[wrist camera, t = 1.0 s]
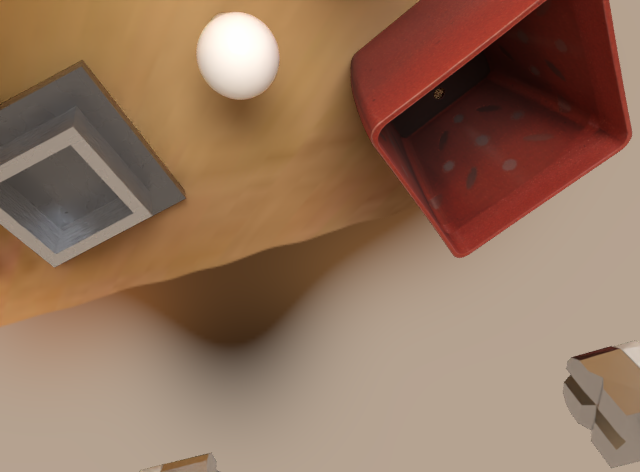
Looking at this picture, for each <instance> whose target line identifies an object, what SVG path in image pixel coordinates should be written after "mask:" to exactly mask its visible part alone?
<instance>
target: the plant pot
mask: <svg viewBox="0 0 640 472" xmlns="http://www.w3.org/2000/svg"><path fill="white" fill-rule="evenodd" d="M351 86H352V92H353V97H354V101H355V104H356V107H357V110H358V113H359V116H360V119H361V121H362V124H363V126H364V128H365V131H366V133H367V135H368V137H369V139H370V141H371V143H372V144H373V146H374V147H375V148H376V150H377V151H378V153H379V154H380V155H381V157H382V158H383V159H384V160H385V162H386V163H387V164H388V166H389V167H390V169H391V170H392V171H393V173H394V174H395V175H396V177H397V178H398V179H399V181H400V182H401V183H402V185H403V186H404V187H405V189H406V190H407V191H408V193H409V194H410V196H411V197H412V198H413V200H414V201H415V202H416V204H417V205H418V206H419V208H420V209H421V210H422V212H423V213H424V214H425V216H426V217H427V218H428V220H429V221H430V223H431V224H432V225H433V227H434V228H435V230H436V231H437V233H438V234H439V235H440V237H441V238H442V240H443V241H444V242H445V244H446V245H447V247H448V248H449V250H450V251H451V253H452V254H453V255H454V256H455V257H457V258H462V257H465V256H467V255H469V254H470V253H472V252H473V251H475V250H476V249H478V248H479V247H481V246H482V245H483V244H485V243H486V242H488V241H489V240H491V239H492V238H494V237H495V236H496V235H498V234H499V233H501V232H502V231H503V230H505V229H506V228H508V227H509V226H511V225H512V224H514V223H515V222H517V221H518V220H519V219H521V218H523V217H524V216H525V215H527V214H528V213H530V212H531V211H533V210H534V209H536V208H537V207H539V206H540V205H542V204H543V203H544V202H546V201H547V200H549V199H550V198H552V197H553V196H555V195H556V194H558V193H559V192H561V191H562V190H563V189H565V188H566V187H568V186H569V185H571V184H572V183H574V182H575V181H577V180H578V179H580V178H581V177H582V176H584V175H586V174H587V173H588V172H590V171H591V170H593V169H594V168H596V167H597V166H599V165H600V164H602V163H603V162H605V161H606V160H608V159H609V158H610V157H612V156H613V155H615V154H616V153H618V152H619V151H620V150H622V149H623V148H624V147H625V146H626V145H627V144H628V143H629V141H630V139H631V137H632V129H631V123H630V118H629V113H628V108H627V103H626V97H625V91H624V86H623V80H622V74H621V69H620V63H619V58H618V52H617V45H616V40H615V34H614V28H613V21H612V15H611V9H610V3H609V0H420V1H419V2H418V3H416V4H415V5H414V6H413V7H412V8H410V9H409V10H408V11H407V12H405V13H404V14H403V15H402V16H401V17H399V18H398V19H397V20H396V21H394V22H393V23H392V24H391V25H389V26H388V27H387V28H386V29H385V30H383V31H382V32H381V33H380V34H378V35H377V36H376V37H375V38H374V39H372V40H371V41H370V42H369V43H368V44H366V45H365V46H364V47H363V48H361V49H360V50H359V51H358V52H357V53H356V54H355V55H354V56H353V58H352V61H351ZM439 88H442V89H444V90H445V93H444V95H443V97H442V98H440V99H436V98H435V97H434V93H435V91H436V90H437V89H439Z"/></svg>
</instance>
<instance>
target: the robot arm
mask: <svg viewBox="0 0 640 472" xmlns="http://www.w3.org/2000/svg"><path fill="white" fill-rule="evenodd" d="M566 369H567V370H568V372H569V373H570V374H571V375H570V376H569V377H568V378H567V379H566V381H565V382H564V387H563V394H564V398H565V402H566V405H567V407H568V408H569V411H570V412H571V414H572V415H573V417H574V418H575V420H576V421H577V422H578V423H579V424H581V425H582V426H584V427H586V428H589V429H590V430H591V441H592V443H593V444H594V446H595V447H596V448H597V450H598V451H599V452H600V453H601V455H602V456H603V458H604V459H605V460H606V462H607V463H608V464H609V466H610V467H611V468H614V467H618V466H622V465H626V464H630V463H634V462H638V461H640V342H638V341H631V342H627V343H624V344H620V345H617V346H614V347H607V348H603V349H600V350H596V351H593V352H589V353H586V354H582V355H578V356H575V357H571V359H569V360H568V362H567V368H566ZM140 472H219V471H217V470H216V460H215V458H214V456H213V454H212V453H208V454H203V455H200V456H195V457H191V458H188V459H183V460H180V461H175V462H171V463H167V464H162V465H158V466H155V467H151V468H147V469H143V470H140Z"/></svg>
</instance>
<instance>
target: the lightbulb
mask: <svg viewBox="0 0 640 472" xmlns="http://www.w3.org/2000/svg"><path fill="white" fill-rule="evenodd" d="M196 58H197V64H198V68H199V70H200V73H201V75H202V77H203V78H204V80H205V81H206V83H207V84H208V85H209V86H210V87H211V88H212V89H213V90H214V91H216V92H217V93H219V94H221V95H222V96H225V97H227V98H231V99H236V100H245V99H250V98H253V97H256V96H258V95H260V94H261V93H263V92H264V91H265V90H267V89H268V88H269V86H270V85H271V84H272V83H273V81H274V79H275V77H276V75H277V72H278V69H279V63H280V54H279V48H278V44H277V42H276V39H275V37H274V35H273V33H272V32H271V30H270V29H269V28H268V27H267V26H266V25H265V24H264V23H263V22H262V21H261V20H259V19H258V18H256V17H254V16H252V15H250V14H247V13H242V12H229V13H218V14H216V15H215V16H214V17H213V18H212V19H211V21H210V22H209V23H208V24H207V25H206V26H205V28H204V29H203V31H202V32H201V34H200V37H199V39H198V43H197V49H196Z"/></svg>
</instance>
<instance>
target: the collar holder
mask: <svg viewBox="0 0 640 472" xmlns="http://www.w3.org/2000/svg"><path fill="white" fill-rule="evenodd" d="M184 199H186V197H185V191H184V189H183V188H182V187H181V186H180V184H179V183H178V182H177V180H176V179H175V178H174V177H173V175H172V174H171V173H170V171H169V170H168V169H167V168H166V166H165V165H164V164H163V162H162V161H161V160H160V159H159V157H158V156H157V155H156V153H155V152H154V151H153V150H152V148H151V147H150V146H149V145H148V143H147V142H146V141H145V139H144V138H143V137H142V136H141V134H140V133H139V132H138V130H137V129H136V128H135V127H134V125H133V124H132V123H131V121H130V120H129V119H128V118H127V116H126V115H125V114H124V113H123V111H122V110H121V109H120V107H119V106H118V105H117V104H116V102H115V101H114V100H113V98H112V97H111V96H110V95H109V93H108V92H107V91H106V89H105V88H104V87H103V86H102V84H101V83H100V82H99V80H98V79H97V78H96V77H95V75H94V74H93V73H92V72H91V70H90V69H89V68H88V66H87V65H86V64H85V63H84V61H83V60H82V61H80V62H78V63H76V64H74V65H72V66H71V67H69V68H67V69H65V70H63V71H61V72H59V73H58V74H56V75H54V76H52V77H50V78H48V79H46V80H45V81H43V82H41V83H39V84H37V85H35V86H33V87H32V88H30V89H28V90H26V91H24V92H22V93H21V94H19V95H17V96H15V97H13V98H11V99H9V100H8V101H6V102H4V103H2V104H0V224H1V225H2V226H3V227H5V228H6V229H7V230H8V231H10V232H11V233H12V234H13V235H15V236H16V237H17V238H18V239H20V240H21V241H22V242H23V243H25V244H26V245H27V246H28V247H29V248H31V249H32V250H33V251H34V252H36V253H37V254H38V255H39V256H41V257H42V258H43V259H44V260H46V261H47V262H48V263H49V264H51V265H52V266H53V267H57V266H58V265H60V264H62V263H64V262H66V261H68V260H70V259H72V258H74V257H75V256H77V255H79V254H81V253H83V252H85V251H87V250H89V249H91V248H93V247H94V246H96V245H98V244H100V243H102V242H104V241H106V240H108V239H110V238H112V237H113V236H115V235H117V234H119V233H121V232H123V231H125V230H127V229H129V228H131V227H132V226H134V225H136V224H138V223H140V222H142V221H144V220H146V219H148V218H149V217H151V216H153V215H155V214H157V213H159V212H161V211H163V210H165V209H167V208H168V207H170V206H172V205H174V204H176V203H178V202H180V201H182V200H184Z"/></svg>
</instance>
